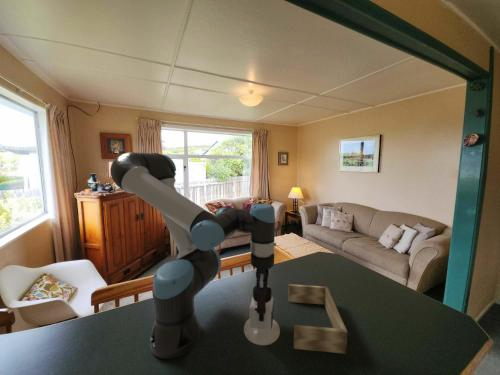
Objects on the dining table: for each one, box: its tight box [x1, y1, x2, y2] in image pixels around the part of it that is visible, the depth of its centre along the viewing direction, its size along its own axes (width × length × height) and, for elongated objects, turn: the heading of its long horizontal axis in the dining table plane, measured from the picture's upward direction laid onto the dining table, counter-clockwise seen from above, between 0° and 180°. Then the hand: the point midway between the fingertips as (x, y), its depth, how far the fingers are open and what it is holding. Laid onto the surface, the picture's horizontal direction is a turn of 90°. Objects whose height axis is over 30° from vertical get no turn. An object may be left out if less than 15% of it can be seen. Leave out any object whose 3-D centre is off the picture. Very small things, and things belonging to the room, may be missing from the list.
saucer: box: [243, 318, 281, 346], centre depth 69 cm, size 12×12×1 cm
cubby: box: [287, 283, 348, 355], centre depth 71 cm, size 15×22×7 cm
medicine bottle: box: [249, 284, 275, 331], centre depth 68 cm, size 7×7×12 cm
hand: (261, 318), depth 68 cm, fingers closed on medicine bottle, 7 cm apart
